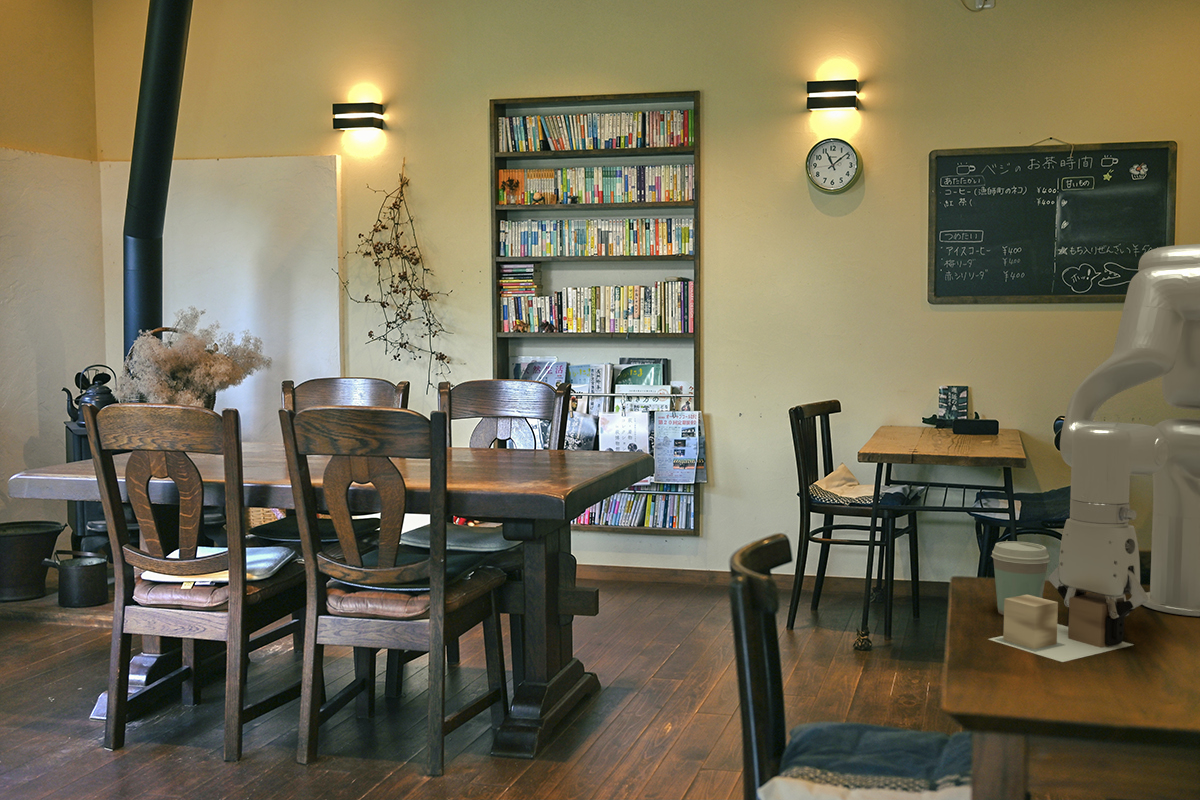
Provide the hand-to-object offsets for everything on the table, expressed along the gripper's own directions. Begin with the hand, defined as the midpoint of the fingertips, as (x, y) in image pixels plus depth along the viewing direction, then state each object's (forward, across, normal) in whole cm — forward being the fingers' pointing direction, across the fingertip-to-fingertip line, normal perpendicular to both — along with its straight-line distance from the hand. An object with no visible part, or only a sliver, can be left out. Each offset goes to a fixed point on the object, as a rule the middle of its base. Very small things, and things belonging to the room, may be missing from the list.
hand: (1094, 637), depth 144 cm
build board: (+2, +2, +5) cm, 6 cm away
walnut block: (0, 0, 0) cm, 0 cm away
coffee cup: (+2, +15, -3) cm, 15 cm away
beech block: (0, +4, +9) cm, 10 cm away
